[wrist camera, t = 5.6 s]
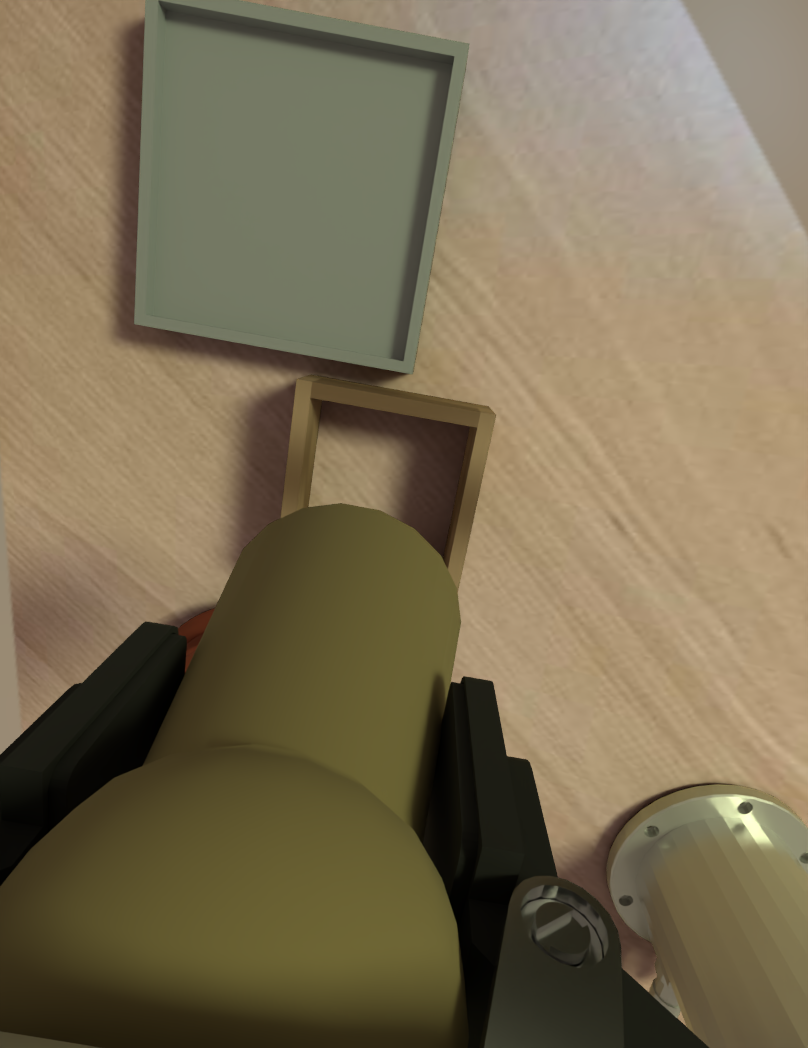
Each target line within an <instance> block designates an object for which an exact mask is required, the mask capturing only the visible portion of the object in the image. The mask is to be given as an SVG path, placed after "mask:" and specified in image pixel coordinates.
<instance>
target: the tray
mask: <svg viewBox="0 0 808 1048" xmlns="http://www.w3.org/2000/svg"><path fill="white" fill-rule="evenodd" d="M468 50H469V44H468V43H463V42H457V41H452V40H447V39H441V38H436V37H431V36H425V35H420V34H415V33H410V32H404V31H399V30H394V29H388V28H383V27H378V26H373V25H367V24H362V23H357V22H351V21H346V20H341V19H336V18H330V17H325V16H320V15H314V14H309V13H304V12H299V11H293V10H288V9H283V8H277V7H272V6H267V5H261V4H256V3H251V2H246V1H240V0H146V2H145V31H144V59H143V88H142V116H141V144H140V173H139V201H138V230H137V258H136V286H135V315H134V324H136V325H142V326H147V327H153V328H158V329H164V330H169V331H175V332H181V333H186V334H192V335H197V336H203V337H208V338H214V339H219V340H225V341H230V342H236V343H242V344H247V345H253V346H258V347H264V348H269V349H275V350H280V351H286V352H291V353H297V354H303V355H308V356H314V357H319V358H325V359H330V360H336V361H341V362H347V363H352V364H358V365H364V366H369V367H375V368H380V369H386V370H391V371H397V372H402V373H408V374H413V372H414V366H415V360H416V354H417V348H418V343H419V337H420V331H421V325H422V319H423V314H424V308H425V302H426V296H427V290H428V285H429V279H430V273H431V267H432V261H433V256H434V250H435V244H436V238H437V233H438V227H439V221H440V215H441V209H442V204H443V198H444V192H445V186H446V180H447V175H448V169H449V163H450V157H451V151H452V146H453V140H454V134H455V128H456V122H457V117H458V111H459V105H460V99H461V93H462V88H463V82H464V76H465V70H466V64H467V57H468Z"/></svg>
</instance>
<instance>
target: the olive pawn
mask: <svg viewBox="0 0 808 1048" xmlns="http://www.w3.org/2000/svg"><path fill="white" fill-rule="evenodd" d="M460 625H461V619H460V610H459V602H458V594H457V587H456V585H455V583H454V581H453V579H452V577H451V575H450V573H449V571H448V569H447V567H446V565H445V563H444V561H443V559H442V557H441V555H440V554H439V553H438V552H437V551H436V550H435V549H434V548H433V547H432V546H431V545H430V544H429V543H428V542H427V541H426V540H425V539H424V538H423V537H422V536H421V535H420V534H419V533H418V532H417V531H416V530H415V529H414V528H412V527H410V526H408V525H407V524H405V523H403V522H401V521H399V520H397V519H395V518H393V517H391V516H389V515H388V514H386V513H384V512H382V511H380V510H374V509H369V508H364V507H358V506H353V505H347V504H342V503H340V504H332V505H324V506H315V507H307V508H302V509H300V510H297V511H295V512H293V513H291V514H289V515H287V516H285V517H283V518H280V519H278V520H276V521H274V522H272V523H270V524H268V525H267V526H266V527H265V528H264V529H263V530H262V531H261V532H260V533H259V534H258V535H257V536H256V537H255V538H254V539H253V540H252V541H251V542H250V543H249V544H248V545H247V546H246V547H245V548H244V549H243V550H242V552H241V555H240V557H239V559H238V561H237V563H236V565H235V567H234V569H233V571H232V573H231V575H230V577H229V579H228V581H227V584H226V586H225V588H224V590H223V592H222V594H221V597H220V599H219V601H218V603H217V605H216V607H215V610H214V612H213V614H212V616H211V618H210V620H209V623H208V625H207V627H206V629H205V631H204V633H203V636H202V638H201V640H200V642H199V644H198V646H197V649H196V651H195V653H194V655H193V657H192V659H191V662H190V664H189V666H188V668H187V670H186V673H185V675H184V677H183V679H182V681H181V684H180V686H179V688H178V690H177V692H176V694H175V696H174V699H173V701H172V703H171V705H170V707H169V709H168V712H167V714H166V716H165V718H164V720H163V722H162V725H161V727H160V729H159V731H158V733H157V735H156V738H155V740H154V742H153V744H152V746H151V748H150V751H149V753H148V755H147V757H146V759H145V761H144V764H143V766H141V767H139V768H137V769H134V770H132V771H129V772H127V773H124V774H122V775H120V776H117V777H115V778H113V779H112V780H111V781H109V782H108V783H107V784H106V785H104V786H103V787H102V788H100V789H99V790H98V791H97V792H95V793H94V794H93V795H91V796H90V797H89V798H88V799H86V800H85V801H84V802H82V803H81V804H80V805H79V806H77V807H76V808H75V809H74V810H73V811H72V812H71V813H69V814H68V815H67V816H66V817H65V818H64V819H63V820H62V821H61V822H60V823H58V824H57V825H56V826H55V827H54V828H53V829H52V830H51V831H50V832H49V833H48V834H46V835H45V836H44V837H43V838H42V839H41V840H40V841H39V842H38V843H37V844H35V845H34V846H33V847H32V848H31V849H30V850H29V851H28V853H27V854H26V855H25V856H24V858H23V859H22V860H21V861H20V863H19V864H18V865H17V866H16V868H15V869H14V870H13V871H12V872H11V874H10V875H9V876H8V877H7V879H6V880H5V881H4V882H3V884H2V885H1V886H0V1031H1V1032H7V1033H13V1034H20V1035H26V1036H32V1037H38V1038H45V1039H51V1040H57V1041H63V1042H69V1043H75V1044H81V1045H87V1046H93V1047H99V1048H467V1047H468V1041H469V1031H468V1017H467V1004H466V990H465V978H464V971H463V964H462V957H461V950H460V943H459V936H458V929H457V923H456V920H455V917H454V914H453V911H452V908H451V905H450V901H449V898H448V895H447V892H446V889H445V886H444V883H443V880H442V878H441V876H440V874H439V873H438V871H437V869H436V867H435V866H434V864H433V862H432V860H431V859H430V857H429V855H428V854H427V852H426V850H425V848H424V847H423V839H424V833H425V828H426V822H427V816H428V810H429V804H430V799H431V793H432V787H433V781H434V775H435V770H436V764H437V758H438V752H439V746H440V741H441V727H442V718H443V714H444V709H445V705H446V700H447V696H448V691H449V687H450V683H451V677H452V671H453V665H454V659H455V654H456V648H457V642H458V636H459V630H460Z"/></svg>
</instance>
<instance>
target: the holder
mask: <svg viewBox="0 0 808 1048" xmlns="http://www.w3.org/2000/svg"><path fill="white" fill-rule="evenodd" d="M322 400H326V401H331V402H337V403H342V404H348V405H354V406H359V407H365V408H370V409H376V410H381V411H387V412H393V413H398V414H404V415H409V416H415V417H420V418H426V419H432V420H437V421H443V422H448V423H454V424H460V425H465V426H470V430H469V435H468V440H467V444H466V449H465V454H464V459H463V464H462V469H461V474H460V478H459V483H458V488H457V493H456V498H455V503H454V508H453V513H452V517H451V522H450V527H449V532H448V537H447V542H446V547H445V551H444V556H443V557H442V559H443V561H444V563H445V565H446V567H447V569H448V571H449V573H450V575H451V577H452V579H453V581H454V583H455V585H456V587H457V593H458V588H459V584H460V579H461V575H462V570H463V565H464V561H465V556H466V552H467V547H468V542H469V538H470V533H471V529H472V524H473V519H474V515H475V510H476V506H477V501H478V496H479V492H480V487H481V483H482V478H483V473H484V469H485V464H486V460H487V455H488V450H489V446H490V441H491V437H492V432H493V427H494V423H495V418H496V414H495V413H494V412H493V411H492V410H491V409H490V408H489V406H483V405H478V404H472V403H467V402H461V401H455V400H450V399H444V398H439V397H433V396H428V395H422V394H417V393H411V392H405V391H400V390H394V389H389V388H383V387H378V386H372V385H366V384H361V383H355V382H350V381H344V380H339V379H333V378H328V377H322V376H316V375H308V376H305V377H302V378H299V379H297V380H296V389H295V397H294V406H293V414H292V423H291V432H290V440H289V449H288V458H287V466H286V475H285V484H284V492H283V501H282V509H281V518H283V517H285V516H287V515H289V514H291V513H293V512H295V511H297V510H300V509H302V508H307V507H308V505H309V497H310V490H311V482H312V474H313V466H314V459H315V451H316V443H317V436H318V428H319V420H320V412H321V405H322Z"/></svg>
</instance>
